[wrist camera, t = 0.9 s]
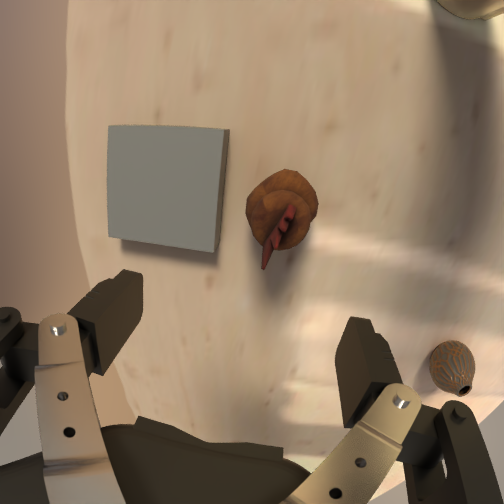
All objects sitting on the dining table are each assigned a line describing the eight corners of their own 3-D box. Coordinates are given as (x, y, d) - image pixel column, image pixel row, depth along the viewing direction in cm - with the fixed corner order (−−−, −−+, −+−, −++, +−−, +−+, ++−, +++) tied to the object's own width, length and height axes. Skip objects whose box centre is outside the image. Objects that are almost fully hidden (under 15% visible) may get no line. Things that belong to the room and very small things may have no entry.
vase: (470, 336, 38) (494, 373, 30) (448, 370, 41) (466, 408, 33) (439, 329, 38) (461, 369, 30) (416, 365, 41) (433, 407, 33)
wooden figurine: (274, 233, 36) (264, 304, 22) (242, 193, 35) (210, 241, 21) (323, 198, 34) (347, 250, 20) (291, 156, 32) (294, 178, 19)
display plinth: (229, 129, 32) (224, 129, 29) (219, 242, 37) (213, 252, 34) (121, 124, 33) (108, 125, 30) (120, 228, 38) (108, 236, 35)
